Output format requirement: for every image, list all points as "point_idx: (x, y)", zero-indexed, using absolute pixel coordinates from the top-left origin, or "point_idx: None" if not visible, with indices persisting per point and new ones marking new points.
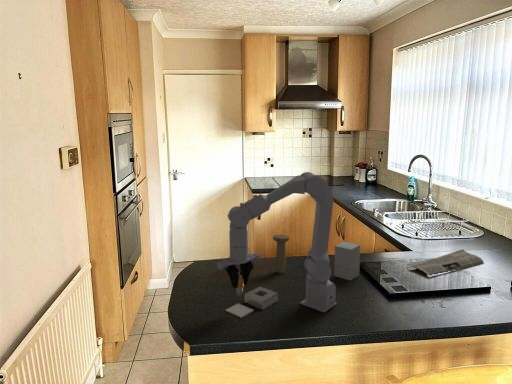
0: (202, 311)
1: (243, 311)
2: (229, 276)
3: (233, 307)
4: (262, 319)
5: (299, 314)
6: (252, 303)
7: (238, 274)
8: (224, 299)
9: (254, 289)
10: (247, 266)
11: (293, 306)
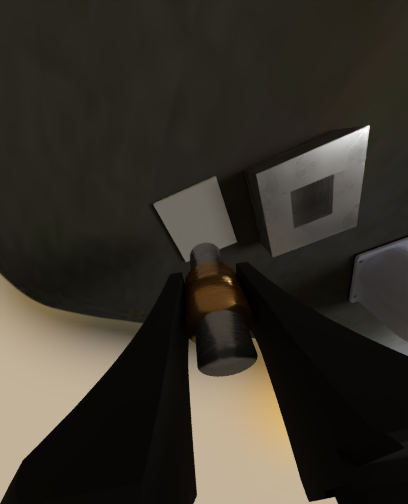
0: (59, 164)
1: (205, 238)
2: (143, 328)
3: (186, 200)
4: None
5: (310, 289)
6: (255, 209)
7: (212, 370)
8: (179, 86)
9: (323, 148)
10: (306, 486)
11: (333, 257)
